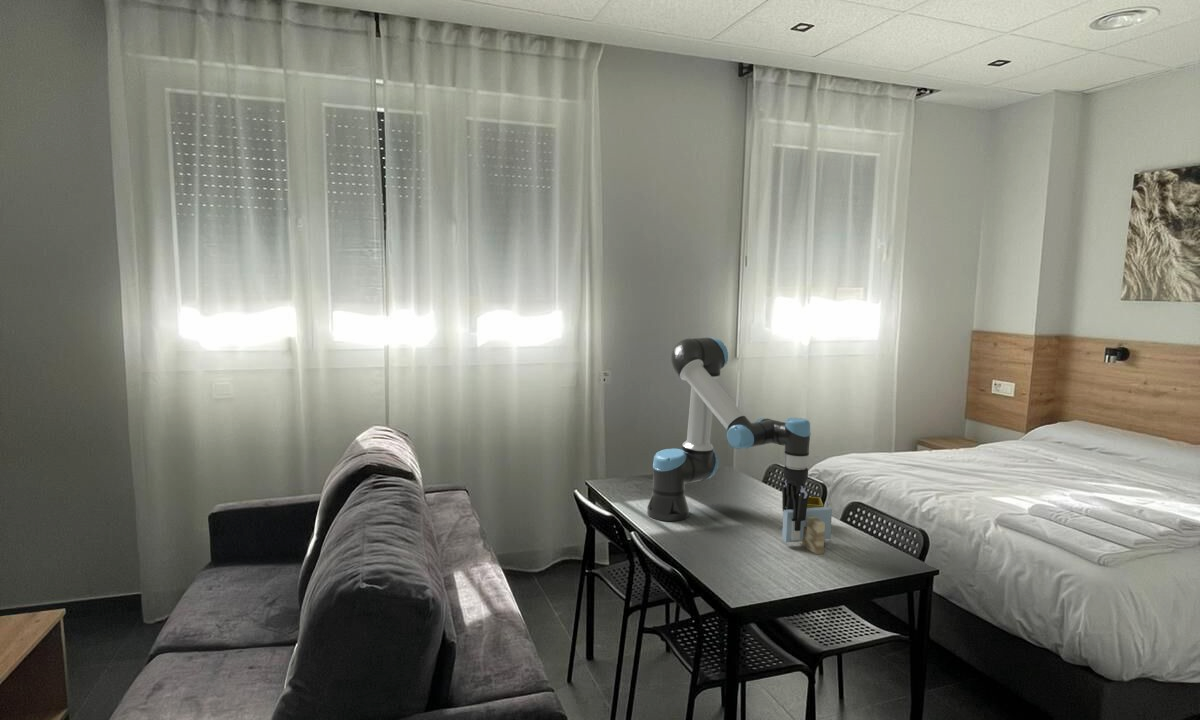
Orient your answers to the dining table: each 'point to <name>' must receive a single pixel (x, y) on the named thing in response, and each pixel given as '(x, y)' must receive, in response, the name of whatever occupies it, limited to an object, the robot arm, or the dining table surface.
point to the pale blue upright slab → (819, 513)
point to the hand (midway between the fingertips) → (792, 537)
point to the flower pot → (814, 502)
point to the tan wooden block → (814, 535)
